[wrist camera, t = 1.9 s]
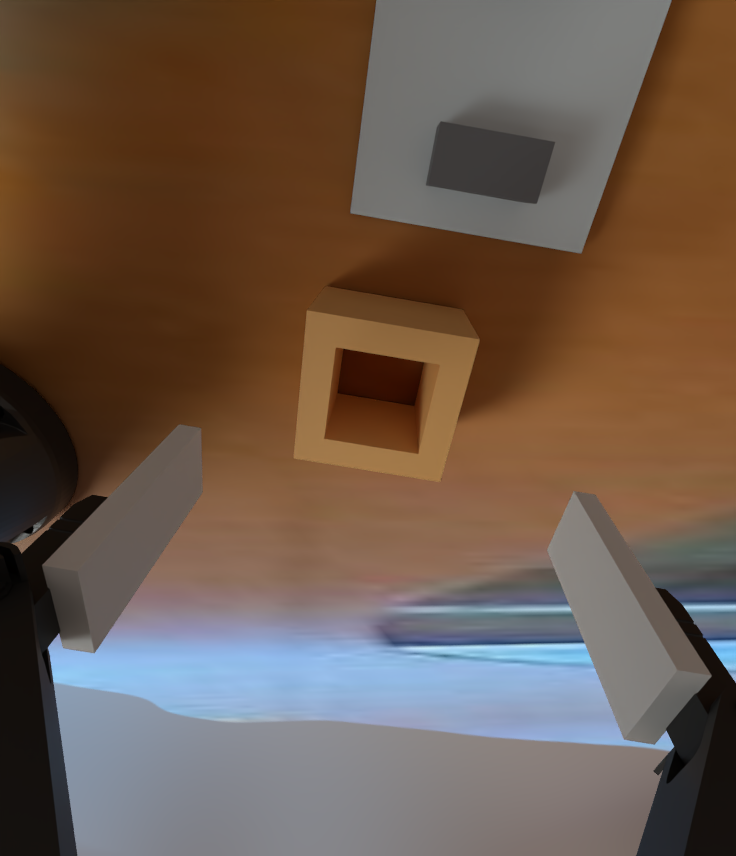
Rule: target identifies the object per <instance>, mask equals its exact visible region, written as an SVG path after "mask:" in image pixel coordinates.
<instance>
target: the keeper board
mask: <svg viewBox="0 0 736 856" xmlns="http://www.w3.org/2000/svg"><path fill="white" fill-rule="evenodd" d="M671 1H672V0H376V8H375V16H374V24H373V32H372V41H371V49H370V57H369V65H368V73H367V81H366V89H365V97H364V105H363V114H362V122H361V130H360V138H359V146H358V154H357V162H356V170H355V178H354V187H353V195H352V203H351V211H350V213H352V214H358V215H363V216H369V217H375V218H380V219H386V220H392V221H398V222H403V223H409V224H415V225H420V226H426V227H432V228H438V229H443V230H449V231H455V232H460V233H466V234H472V235H478V236H483V237H489V238H495V239H500V240H506V241H512V242H518V243H523V244H529V245H535V246H541V247H546V248H552V249H558V250H563V251H569V252H575V253H582V250H583V247H584V244H585V242H586V239H587V236H588V233H589V230H590V228H591V225H592V222H593V219H594V216H595V214H596V211H597V208H598V205H599V202H600V200H601V197H602V194H603V191H604V188H605V186H606V183H607V180H608V177H609V174H610V172H611V169H612V166H613V163H614V160H615V158H616V155H617V152H618V149H619V146H620V144H621V141H622V138H623V135H624V132H625V130H626V127H627V124H628V121H629V118H630V116H631V113H632V110H633V107H634V104H635V102H636V99H637V96H638V93H639V90H640V88H641V85H642V82H643V79H644V76H645V74H646V71H647V68H648V65H649V62H650V60H651V57H652V54H653V51H654V48H655V46H656V43H657V40H658V37H659V34H660V32H661V29H662V26H663V23H664V20H665V18H666V15H667V12H668V9H669V7H670V4H671Z"/></svg>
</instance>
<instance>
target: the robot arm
mask: <svg viewBox="0 0 736 856" xmlns="http://www.w3.org/2000/svg"><path fill="white" fill-rule="evenodd" d="M77 478H78V466H77V459H76V455H75V451H74V448H73V445H72V442H71V440H70V437H69V435H68V433H67V431H66V429H65V428H64V426H63V424H62V423H61V421H60V419H59V418H58V417H57V415H56V414H55V412H54V411H53V410H52V409H51V407H50V406H49V405H48V404H47V403H46V401H45V400H44V399H43V398H42V397H41V396H40V395H39V394H38V393H37V392H36V391H35V390H34V389H33V388H32V387H31V386H29V385H28V384H27V383H26V382H25V381H23V380H22V379H21V378H20V377H18V376H17V375H16V374H14V373H13V372H11V371H10V370H8V369H7V368H5V367H4V366H2V365H1V364H0V856H77V850H76V843H75V837H74V828H73V821H72V815H71V807H70V800H69V792H68V785H67V778H66V771H65V763H64V756H63V749H62V741H61V734H60V728H59V720H58V712H57V706H56V698H55V691H54V684H53V676H52V669H51V662H50V655H49V651H48V646H49V645H50V644H51V642H52V641H53V640H54V639H55V637H56V636H57V635H58V633H59V634H60V638H61V642H62V646H63V648H65V649H72V650H78V651H84V652H90V653H95V652H96V650H97V649H98V647H99V646H100V644H101V643H102V641H103V640H104V638H105V637H106V635H107V634H108V632H109V631H110V629H111V628H112V626H113V625H114V623H115V622H116V620H117V619H118V617H119V616H120V615H121V613H122V612H123V610H124V609H125V607H126V606H127V604H128V603H129V601H130V600H131V598H132V597H133V595H134V594H135V592H136V591H137V589H138V588H139V586H140V585H141V583H142V582H143V580H144V579H145V577H146V576H147V574H148V573H149V571H150V570H151V568H152V567H153V565H154V564H155V562H156V561H157V559H158V558H159V556H160V555H161V553H162V552H163V550H164V549H165V547H166V546H167V545H168V543H169V542H170V540H171V539H172V537H173V536H174V534H175V533H176V531H177V530H178V528H179V527H180V525H181V524H182V522H183V521H184V519H185V518H186V516H187V515H188V513H189V512H190V510H191V509H192V507H193V506H194V504H195V503H196V501H197V500H198V498H199V497H200V495H201V494H202V492H203V489H202V447H201V428H198V427H192V426H186V425H180V424H179V425H178V426H177V427H176V428H175V429H174V430H173V431H172V432H171V433H170V434H169V435H168V436H167V437H166V438H165V439H164V440H163V441H162V442H161V443H160V444H159V445H158V447H157V448H156V449H155V450H154V451H153V452H152V453H151V454H150V455H149V456H148V457H147V458H146V459H145V460H144V461H143V462H142V463H141V464H140V465H139V466H138V467H137V468H136V469H135V470H134V471H133V472H132V473H131V474H130V475H129V476H128V477H127V478H126V479H125V480H124V481H123V483H122V484H121V485H120V486H119V487H118V488H117V489H116V490H115V491H114V492H113V493H112V494H111V495H110V496H109V497H103V496H97V495H91V496H89V497H87V498H85V499H83V500H81V501H80V502H78V503H76V504H74V505H73V506H72V507H70V508H69V509H68V510H67V511H66V512H65V513H64V514H63V515H62V516H61V517H60V520H57V521H56V522H55V523H54V524H52V525H51V526H50V527H49V530H48V531H47V530H46V531H45V532H44V533H43V534H42V535H41V536H40V537H39V538H38V539H37V540H35V541H34V542H33V543H32V544H31V545H30V546H29V547H28V548H27V549H26V550H25V551H24V552H23V553H22V554H21V552H20V550H19V548H18V547H17V546H15V545H13V544H11V543H15V542H18V541H20V540H22V539H25V538H27V537H29V536H31V535H33V534H34V533H36V532H37V531H39V530H40V529H42V528H43V527H44V526H45V525H47V524H48V523H49V522H50V521H51V520H52V519H53V518H54V517H55V516H56V515H57V514H58V513H59V512H60V511H61V510H62V509H63V508H65V506H66V505H67V504H68V503H69V501H70V500H71V498H72V496H73V494H74V491H75V488H76V485H77ZM547 551H548V554H549V556H550V559H551V561H552V564H553V566H554V568H555V571H556V573H557V576H558V578H559V581H560V583H561V586H562V588H563V591H564V593H565V595H566V598H567V600H568V603H569V605H570V608H571V610H572V613H573V615H574V618H575V620H576V623H577V625H578V627H579V630H580V632H581V635H582V637H583V640H584V642H585V645H586V647H587V650H588V652H589V654H590V657H591V659H592V662H593V664H594V667H595V669H596V672H597V674H598V677H599V679H600V682H601V684H602V686H603V689H604V691H605V694H606V696H607V699H608V701H609V704H610V706H611V709H612V711H613V713H614V716H615V718H616V721H617V723H618V726H619V728H620V731H621V733H622V736H623V738H624V740H630V741H636V742H642V743H648V744H654V745H655V743H656V742H657V741H658V740H659V739H660V737H661V736H662V735H663V734H664V733H665V731H666V730H667V732H668V734H669V736H670V738H671V741H672V743H673V745H674V748H673V749H672V750H671V751H670V752H669V753H668V755H667V756H666V757H665V758H664V759H663V760H662V762H661V763H660V764H659V765H658V766H657V767H656V769H655V770H654V772H655V773H656V774H657V775H659V774H660V773H661V771H662V770H663V772H662V775H661V778H660V781H659V785H658V788H657V791H656V794H655V798H654V801H653V804H652V807H651V810H650V813H649V817H648V820H647V823H646V827H645V829H644V833H643V836H642V839H641V842H640V846H639V849H638V852H637V855H636V856H736V683H735V681H734V680H733V678H732V677H731V675H730V674H729V672H728V671H727V670H726V668H725V667H724V665H723V664H722V662H721V661H720V659H719V658H718V656H717V655H716V653H715V652H714V650H713V649H712V648H711V646H710V645H709V643H708V642H707V640H706V639H705V638H703V634H702V633H701V631H700V630H699V629H698V627H697V626H696V625H694V623H693V622H694V621H693V620H692V618H691V617H690V615H689V614H688V612H687V611H686V609H685V608H684V607H683V605H682V604H681V603H680V602H679V601H678V600H677V599H675V598H674V597H673V596H672V595H671V594H670V593H669V592H668V591H667V590H666V589H660V588H655V587H654V585H653V584H652V582H651V580H650V579H649V577H648V576H647V574H646V573H645V571H644V570H643V568H642V566H641V565H640V563H639V562H638V560H637V559H636V557H635V556H634V554H633V552H632V551H631V549H630V548H629V546H628V545H627V543H626V542H625V540H624V538H623V537H622V535H621V534H620V532H619V531H618V529H617V528H616V526H615V524H614V523H613V521H612V520H611V518H610V517H609V515H608V514H607V512H606V510H605V509H604V507H603V506H602V504H601V503H600V501H599V500H598V498H597V496H596V495H594V494H588V493H582V492H576V491H574V492H573V494H572V496H571V499H570V501H569V503H568V505H567V507H566V510H565V512H564V514H563V516H562V518H561V521H560V523H559V525H558V527H557V529H556V531H555V534H554V536H553V538H552V540H551V542H550V545H549V547H548V549H547Z"/></svg>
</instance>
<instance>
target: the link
mask: <svg viewBox="0 0 736 856" xmlns="http://www.w3.org/2000/svg"><path fill="white" fill-rule="evenodd" d="M479 341H480V339H479V337H478V335H477V333H476V332H475V330H474V328H473V326H472V325H471V323H470V321H469V319H468V318H467V316H466V314H465V312H464V311H463V309H457V308H452V307H446V306H440V305H434V304H428V303H422V302H416V301H411V300H405V299H399V298H393V297H387V296H381V295H375V294H370V293H364V292H358V291H352V290H346V289H340V288H335V287H329V286H325V287H324V288H323V290H322V291H321V292H320V294H319V295H318V296H317V298H316V299H315V300H314V302H313V303H312V304H311V306H310V307H309V308H308V310H307V315H306V326H305V337H304V348H303V359H302V371H301V382H300V393H299V404H298V415H297V426H296V437H295V448H294V459H301V460H307V461H313V462H319V463H325V464H332V465H338V466H344V467H350V468H356V469H363V470H369V471H375V472H381V473H387V474H394V475H400V476H406V477H412V478H418V479H424V480H431V481H437V482H440V480H441V477H442V473H443V470H444V466H445V463H446V459H447V455H448V452H449V448H450V445H451V441H452V438H453V434H454V430H455V427H456V423H457V420H458V416H459V413H460V409H461V406H462V402H463V398H464V395H465V391H466V388H467V384H468V381H469V377H470V374H471V370H472V366H473V363H474V359H475V356H476V352H477V349H478V345H479ZM343 349H348V350H354V351H360V352H366V353H372V354H378V355H384V356H390V357H396V358H402V359H408V360H414V361H420V362H424V365H423V370H422V374H421V379H420V383H419V388H418V392H417V396H416V401H415V405H414V406H411V405H405V404H399V403H393V402H387V401H381V400H375V399H369V398H363V397H357V396H351V395H345V394H339V393H338V386H339V378H340V371H341V363H342V356H343Z"/></svg>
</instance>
